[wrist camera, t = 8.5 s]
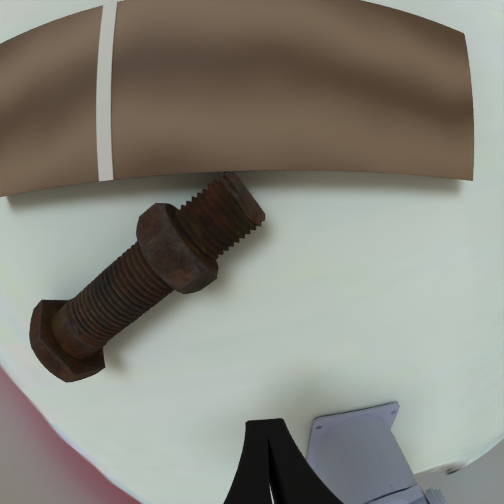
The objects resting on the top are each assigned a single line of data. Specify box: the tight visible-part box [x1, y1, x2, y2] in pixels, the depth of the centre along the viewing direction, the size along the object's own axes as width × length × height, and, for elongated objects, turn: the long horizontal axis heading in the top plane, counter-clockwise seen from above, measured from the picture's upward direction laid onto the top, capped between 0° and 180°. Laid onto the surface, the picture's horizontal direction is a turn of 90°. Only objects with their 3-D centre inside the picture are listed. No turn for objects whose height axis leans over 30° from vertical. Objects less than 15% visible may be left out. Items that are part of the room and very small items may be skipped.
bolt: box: [29, 172, 265, 382], centre depth 16 cm, size 6×5×15 cm
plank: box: [0, 0, 474, 197], centre depth 14 cm, size 10×30×2 cm, turn 91°
